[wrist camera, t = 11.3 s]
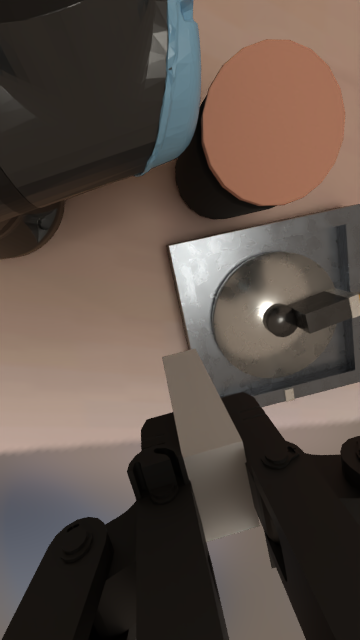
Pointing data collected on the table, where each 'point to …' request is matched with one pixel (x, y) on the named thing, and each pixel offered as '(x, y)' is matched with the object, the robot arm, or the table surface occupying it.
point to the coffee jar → (262, 132)
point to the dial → (278, 314)
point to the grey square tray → (240, 245)
